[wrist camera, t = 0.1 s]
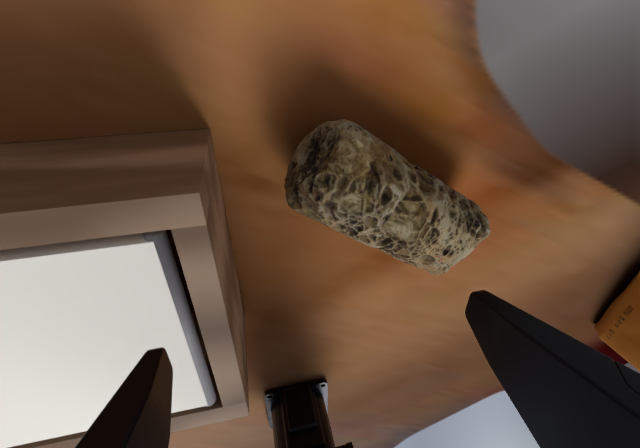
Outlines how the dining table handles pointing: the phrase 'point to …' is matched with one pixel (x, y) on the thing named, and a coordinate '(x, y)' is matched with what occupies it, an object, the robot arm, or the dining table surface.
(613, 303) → the coffee package
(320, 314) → the dining table surface
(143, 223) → the trapdoor frame
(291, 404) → the robot arm
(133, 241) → the trapdoor
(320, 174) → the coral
